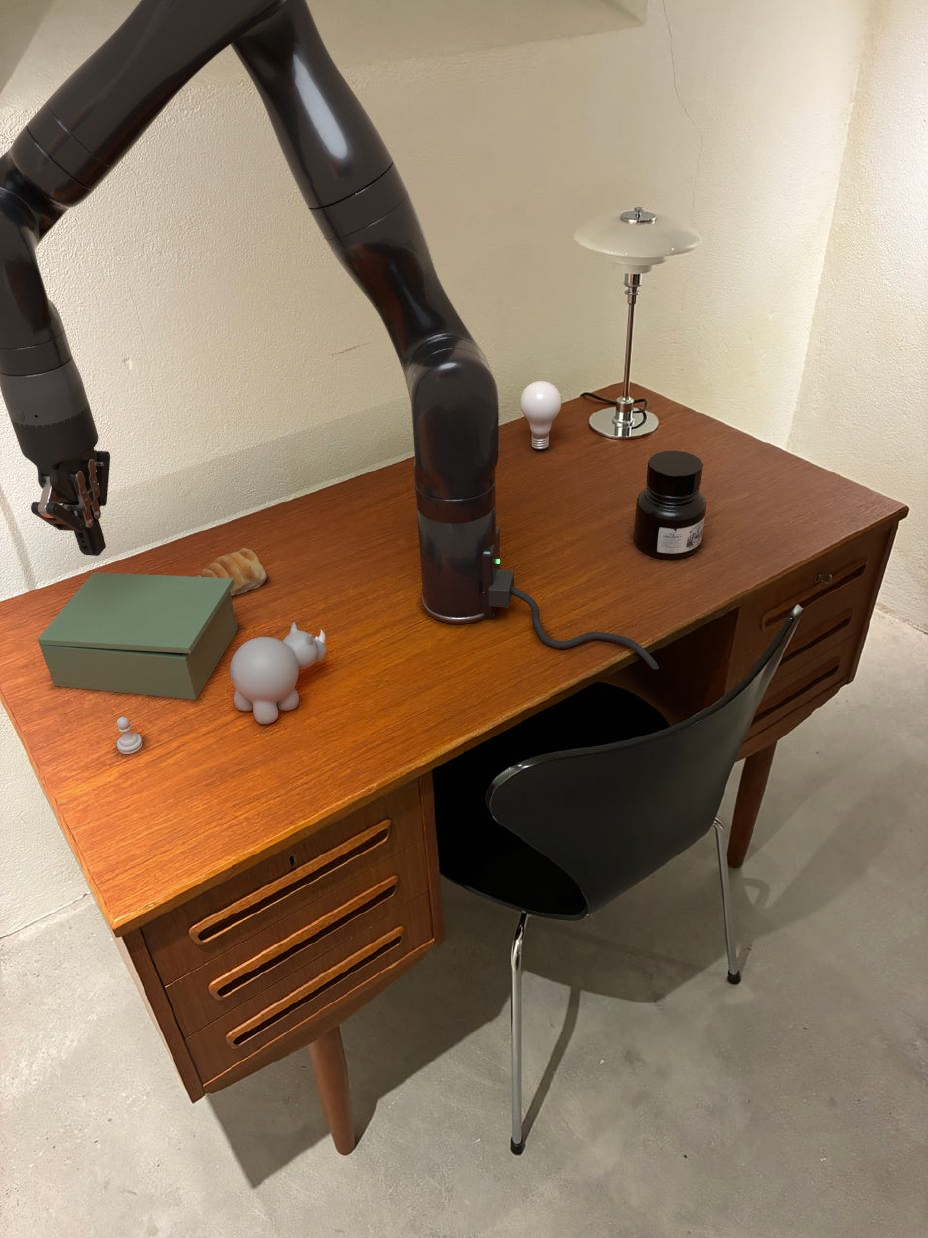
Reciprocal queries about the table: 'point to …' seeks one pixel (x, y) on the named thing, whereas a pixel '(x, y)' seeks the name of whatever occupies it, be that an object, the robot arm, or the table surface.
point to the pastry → (237, 570)
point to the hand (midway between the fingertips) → (94, 551)
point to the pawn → (127, 738)
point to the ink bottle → (671, 506)
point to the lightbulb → (540, 410)
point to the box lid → (138, 612)
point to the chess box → (145, 664)
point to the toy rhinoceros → (273, 672)
